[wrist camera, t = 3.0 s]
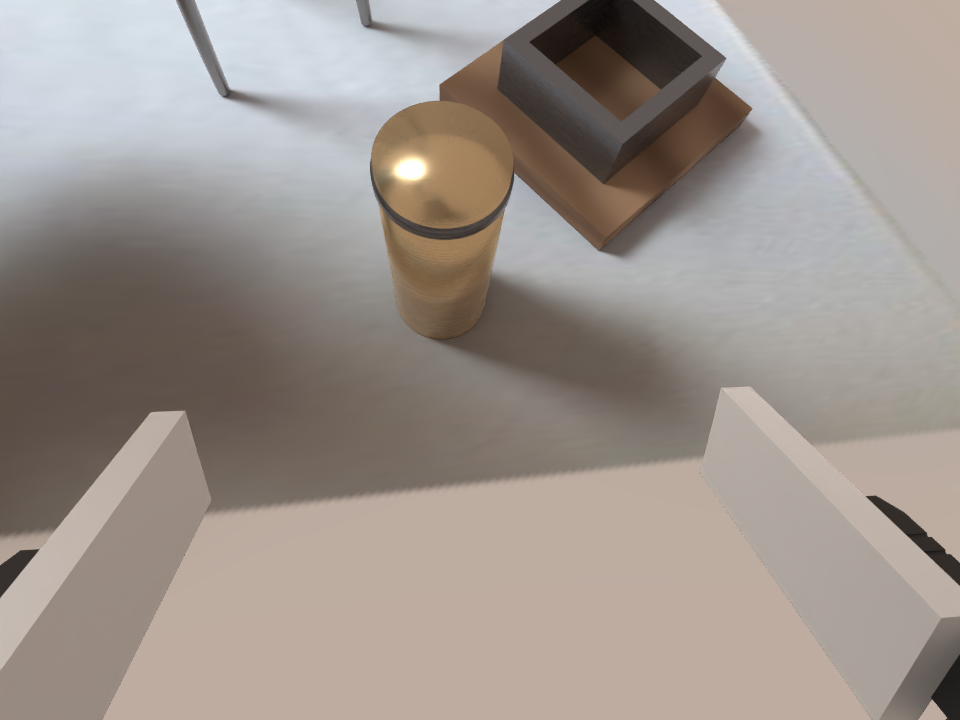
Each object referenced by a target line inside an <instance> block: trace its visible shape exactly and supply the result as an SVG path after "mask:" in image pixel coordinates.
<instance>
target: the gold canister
mask: <svg viewBox="0 0 960 720" xmlns="http://www.w3.org/2000/svg"><path fill="white" fill-rule="evenodd" d="M370 174H371V180H372V186H373V190H374V194H375V197H376V199H377V201H378V203H379V209H380V214H381V220H382V225H383V231H384V236H385V242H386V247H387V253H388V258H389V264H390V269H391V275H392V280H393V286H394V291H395V297H396V302H397V307H398V311H399V313H400V315H401V317H402V319H403V320H404V322H405V323H406V324H407V325H408V326H409V327H410V328H411V329H413V330H414V331H415V332H417V333H419V334H421V335H423V336H426V337H429V338H434V339H448V338H453V337H457V336H459V335H462V334H463V333H465V332H467V331H468V330H470V329H471V328H472V327H473V326H474V325H475V324H476V323H477V321H478V320H479V318H480V317H481V315H482V312H483V310H484V305H485V301H486V296H487V291H488V287H489V282H490V277H491V272H492V268H493V263H494V258H495V253H496V249H497V244H498V239H499V234H500V230H501V225H502V220H503V215H504V211H505V207H506V206H507V203H508V201H509V198H510V195H511V191H512V186H513V181H514V163H513V154H512V149H511V146H510V144H509V141H508V139H507V137H506V135H505V134H504V132H503V131H502V130H501V128H500V127H499V126H498V125H497V124H496V123H495V122H494V121H493V120H492V119H491V118H489V117H488V116H487V115H485V114H484V113H482V112H480V111H478V110H476V109H474V108H472V107H470V106H467V105H464V104H460V103H456V102H449V101H431V102H424V103H419V104H416V105H413V106H410V107H408V108H406V109H403V110H402V111H400V112H398V113H397V114H395V115H394V116H393V117H392V118H390V119H389V120H388V121H387V122H386V123H385V124H384V125H383V127H382V128H381V130H380V131H379V133H378V135H377V136H376V138H375V141H374V144H373V148H372V154H371V162H370Z"/></svg>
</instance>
